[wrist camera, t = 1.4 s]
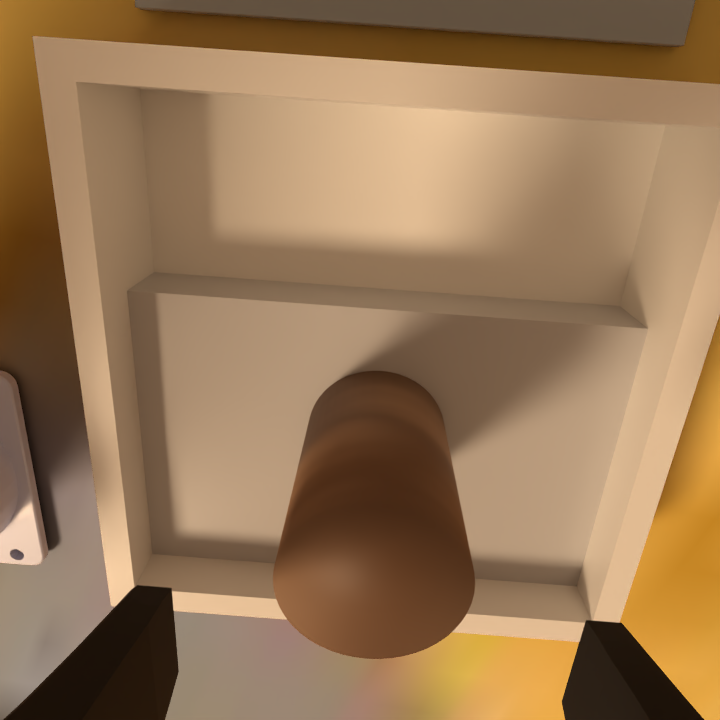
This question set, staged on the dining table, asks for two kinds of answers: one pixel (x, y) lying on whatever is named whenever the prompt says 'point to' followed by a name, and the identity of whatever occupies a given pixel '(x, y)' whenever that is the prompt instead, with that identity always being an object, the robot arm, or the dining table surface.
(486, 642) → the dining table surface
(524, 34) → the slate mat
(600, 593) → the open box
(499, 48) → the dining table surface
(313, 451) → the walnut cylinder
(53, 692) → the robot arm
